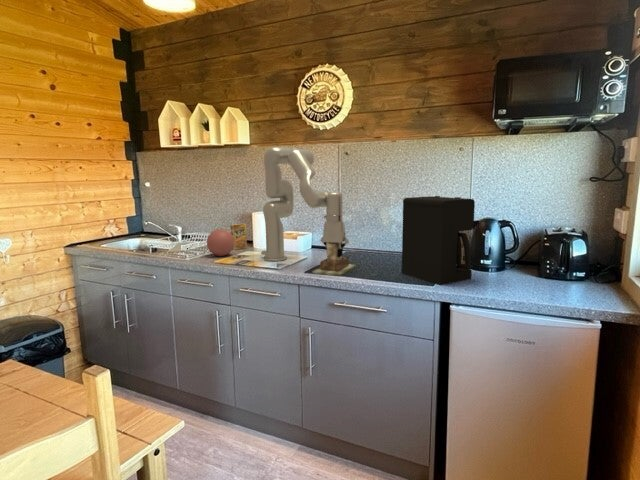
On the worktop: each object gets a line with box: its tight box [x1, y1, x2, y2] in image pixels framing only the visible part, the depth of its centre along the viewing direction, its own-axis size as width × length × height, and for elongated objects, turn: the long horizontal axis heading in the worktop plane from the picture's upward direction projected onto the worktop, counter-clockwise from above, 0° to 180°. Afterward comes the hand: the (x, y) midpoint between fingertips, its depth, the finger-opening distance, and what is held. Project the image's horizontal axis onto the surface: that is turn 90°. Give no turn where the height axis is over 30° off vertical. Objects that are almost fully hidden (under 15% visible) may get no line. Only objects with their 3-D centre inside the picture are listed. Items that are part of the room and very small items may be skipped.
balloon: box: [206, 228, 235, 257], centre depth 238 cm, size 15×20×15 cm
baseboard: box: [166, 240, 192, 254], centre depth 263 cm, size 31×3×12 cm
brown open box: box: [312, 256, 357, 277], centre depth 199 cm, size 14×20×5 cm
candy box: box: [230, 223, 248, 251], centre depth 257 cm, size 9×4×15 cm, turn 126°
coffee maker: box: [401, 195, 476, 286], centre depth 181 cm, size 28×20×35 cm
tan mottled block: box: [326, 243, 343, 262], centre depth 198 cm, size 4×8×12 cm, turn 153°
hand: (334, 255), depth 198 cm, fingers open, 4 cm apart
